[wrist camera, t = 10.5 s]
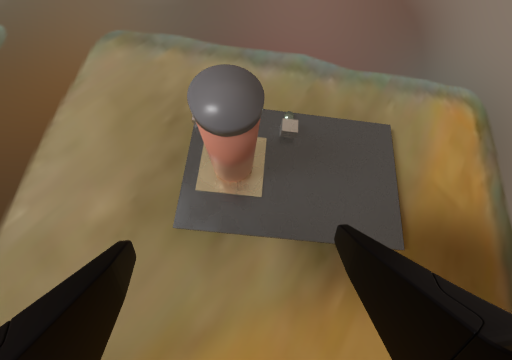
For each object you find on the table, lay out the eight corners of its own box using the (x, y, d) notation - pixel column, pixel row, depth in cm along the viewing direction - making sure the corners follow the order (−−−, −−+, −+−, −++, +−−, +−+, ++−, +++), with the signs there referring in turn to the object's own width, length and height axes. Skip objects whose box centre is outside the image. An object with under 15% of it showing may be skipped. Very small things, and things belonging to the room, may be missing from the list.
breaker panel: (394, 249, 23) (415, 250, 20) (177, 228, 22) (168, 226, 19) (382, 131, 27) (398, 118, 24) (201, 108, 26) (196, 93, 23)
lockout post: (245, 188, 22) (250, 139, 11) (206, 174, 22) (174, 114, 11) (258, 151, 23) (273, 77, 13) (221, 139, 23) (205, 55, 13)
